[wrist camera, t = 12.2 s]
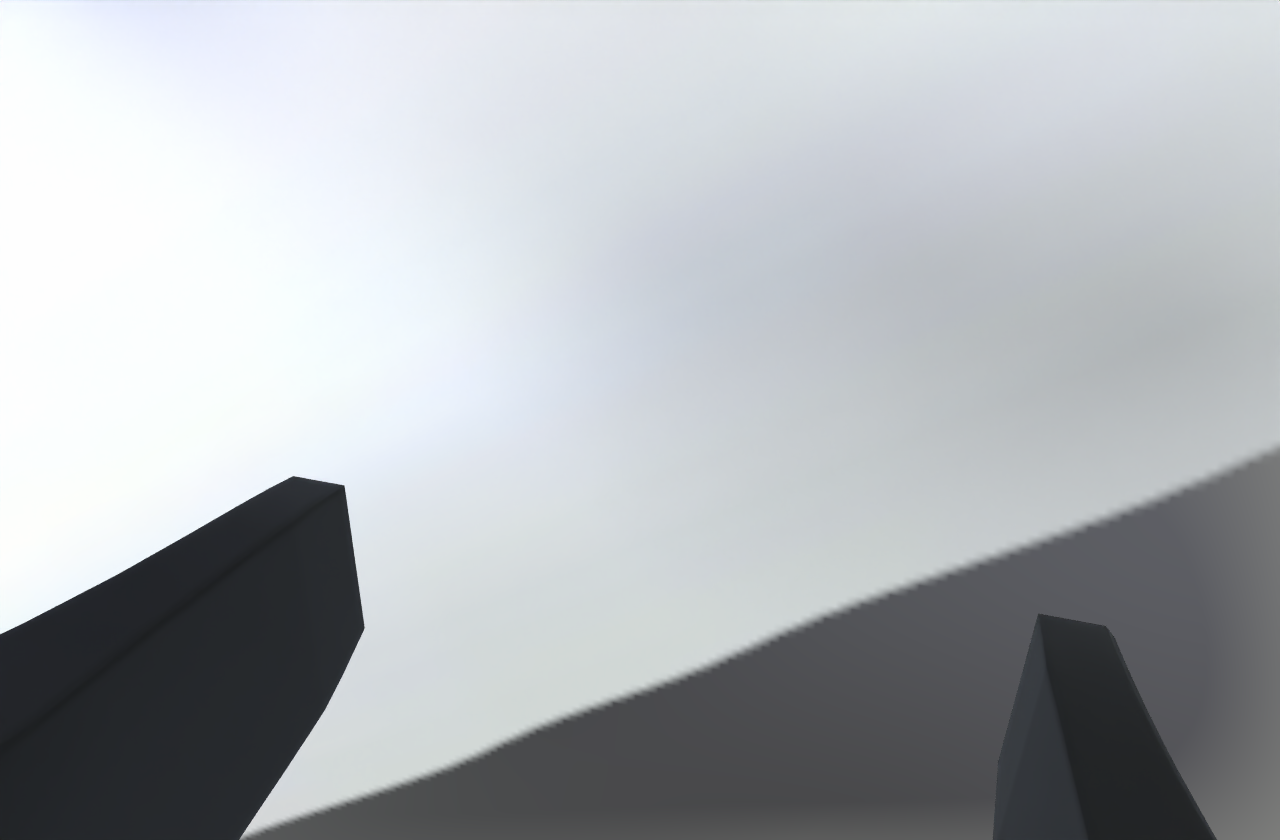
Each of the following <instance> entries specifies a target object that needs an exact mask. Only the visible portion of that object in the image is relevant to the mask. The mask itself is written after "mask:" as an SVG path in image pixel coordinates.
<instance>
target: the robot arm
mask: <svg viewBox="0 0 1280 840" xmlns="http://www.w3.org/2000/svg"><path fill="white" fill-rule="evenodd" d="M364 628H365V627H364V620H363V613H362V606H361V599H360V592H359V585H358V578H357V571H356V564H355V557H354V550H353V543H352V536H351V529H350V522H349V514H348V507H347V500H346V493H345V486H344V485H338V484H333V483H328V482H322V481H317V480H311V479H306V478H300V477H295V476H293V477H291V478H289V479H287V480H285V481H283V482H281V483H279V484H277V485H275V486H273V487H271V488H269V489H267V490H266V491H264V492H262V493H260V494H258V495H257V496H255V497H253V498H251V499H249V500H248V501H246V502H244V503H242V504H241V505H239V506H237V507H235V508H234V509H232V510H230V511H228V512H227V513H225V514H223V515H221V516H220V517H218V518H216V519H215V520H213V521H211V522H209V523H208V524H206V525H204V526H202V527H201V528H199V529H197V530H195V531H194V532H192V533H190V534H189V535H187V536H185V537H183V538H181V539H180V540H178V541H176V542H174V543H173V544H171V545H169V546H167V547H166V548H164V549H162V550H160V551H159V552H157V553H155V554H153V555H151V556H150V557H148V558H146V559H144V560H143V561H141V562H139V563H137V564H136V565H134V566H132V567H130V568H128V569H127V570H125V571H123V572H121V573H120V574H118V575H116V576H114V577H112V578H110V579H108V580H106V581H104V582H102V583H101V584H99V585H97V586H95V587H93V588H91V589H89V590H87V591H85V592H83V593H81V594H79V595H77V596H75V597H74V598H72V599H70V600H68V601H66V602H64V603H62V604H60V605H58V606H56V607H54V608H52V609H50V610H48V611H46V612H45V613H43V614H41V615H39V616H37V617H35V618H33V619H31V620H29V621H27V622H25V623H23V624H21V625H19V626H17V627H15V628H13V629H11V630H9V631H6V632H4V633H2V634H0V840H239V839H240V837H241V836H242V834H243V833H244V831H245V830H246V828H247V827H248V825H249V824H250V822H251V821H252V819H253V818H254V816H255V815H256V813H257V812H258V810H259V809H260V807H261V806H262V804H263V803H264V801H265V800H266V798H267V797H268V795H269V794H270V793H271V791H272V790H273V788H274V787H275V785H276V784H277V782H278V781H279V779H280V778H281V776H282V775H283V773H284V772H285V770H286V769H287V767H288V766H289V764H290V763H291V761H292V760H293V758H294V756H295V755H296V753H297V752H298V750H299V749H300V747H301V746H302V744H303V743H304V741H305V740H306V738H307V737H308V735H309V734H310V732H311V731H312V729H313V728H314V726H315V724H316V723H317V721H318V720H319V718H320V717H321V715H322V713H323V712H324V710H325V709H326V707H327V705H328V703H329V701H330V699H331V697H332V695H333V693H334V691H335V689H336V687H337V685H338V683H339V681H340V679H341V677H342V675H343V673H344V671H345V669H346V667H347V665H348V663H349V661H350V658H351V656H352V654H353V652H354V650H355V648H356V646H357V643H358V641H359V639H360V637H361V635H362V633H363V631H364ZM993 840H1217V839H1216V837H1215V836H1214V834H1213V832H1212V831H1211V829H1210V827H1209V825H1208V824H1207V822H1206V820H1205V818H1204V816H1203V815H1202V813H1201V811H1200V809H1199V807H1198V806H1197V804H1196V802H1195V801H1194V798H1193V797H1192V795H1191V793H1190V791H1189V789H1188V788H1187V786H1186V784H1185V782H1184V781H1183V779H1182V777H1181V775H1180V773H1179V772H1178V770H1177V768H1176V766H1175V764H1174V762H1173V760H1172V758H1171V757H1170V755H1169V753H1168V751H1167V749H1166V747H1165V745H1164V743H1163V741H1162V739H1161V737H1160V735H1159V733H1158V731H1157V729H1156V727H1155V725H1154V723H1153V721H1152V719H1151V717H1150V715H1149V713H1148V711H1147V709H1146V707H1145V705H1144V703H1143V700H1142V698H1141V696H1140V694H1139V692H1138V690H1137V688H1136V686H1135V684H1134V681H1133V679H1132V677H1131V675H1130V672H1129V670H1128V668H1127V666H1126V663H1125V661H1124V659H1123V656H1122V654H1121V652H1120V649H1119V647H1118V645H1117V642H1116V640H1115V638H1114V636H1113V635H1112V634H1111V632H1110V631H1109V630H1108V629H1107V627H1106V626H1102V625H1096V624H1091V623H1086V622H1081V621H1075V620H1069V619H1064V618H1059V617H1053V616H1048V615H1043V614H1038V617H1037V621H1036V624H1035V628H1034V632H1033V635H1032V639H1031V643H1030V646H1029V651H1028V654H1027V658H1026V661H1025V665H1024V669H1023V672H1022V676H1021V680H1020V684H1019V687H1018V691H1017V695H1016V698H1015V702H1014V706H1013V709H1012V713H1011V717H1010V720H1009V724H1008V728H1007V731H1006V735H1005V739H1004V743H1003V746H1002V750H1001V754H1000V757H999V761H998V773H997V787H996V801H995V814H994V831H993Z"/></svg>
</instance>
